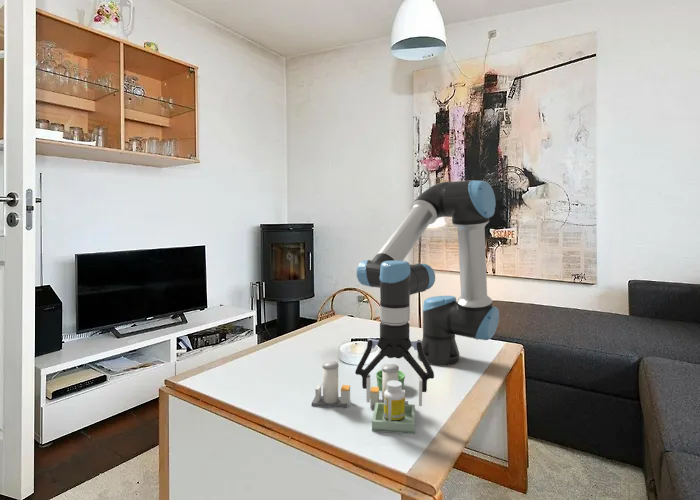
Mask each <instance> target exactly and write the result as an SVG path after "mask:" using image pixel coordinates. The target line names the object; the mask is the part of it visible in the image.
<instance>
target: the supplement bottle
mask: <svg viewBox="0 0 700 500" xmlns="http://www.w3.org/2000/svg"><path fill="white" fill-rule="evenodd" d="M402 390H403V389H402V383H401V382H399V381H395V380H392V381H388V382H387V390H386V391H385V392H384V420H385V421H397V422H403V421H404V419H405V401H406V393H405V394H404V392H403V391H402Z"/></svg>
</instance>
